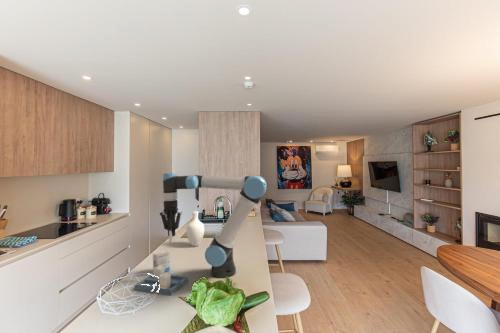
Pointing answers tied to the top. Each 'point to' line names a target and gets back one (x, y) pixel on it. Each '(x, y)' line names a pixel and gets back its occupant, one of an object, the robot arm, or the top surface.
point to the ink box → (162, 260)
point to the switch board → (176, 283)
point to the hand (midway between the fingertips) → (171, 241)
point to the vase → (195, 230)
